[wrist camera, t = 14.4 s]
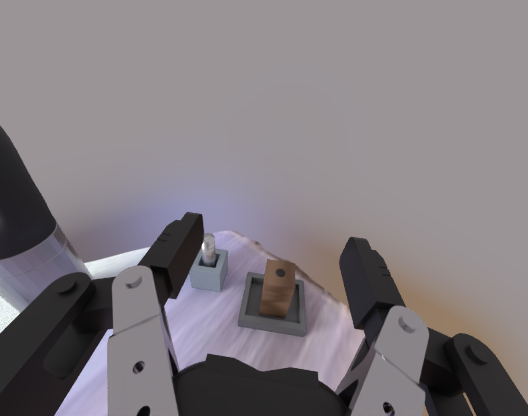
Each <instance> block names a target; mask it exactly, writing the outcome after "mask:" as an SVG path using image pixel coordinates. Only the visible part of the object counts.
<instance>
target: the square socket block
mask: <svg viewBox="0 0 528 416" xmlns="http://www.w3.org/2000/svg"><path fill="white" fill-rule="evenodd" d="M215 255H216V267H215V268H211V267H205V266H203V261H202V252H201V249H200V251H199V253H198V255H197V257H196V259H195V261H194V263H193V265H192V267H191V269H190V272H189V274H190V279H191V285H192V288H198V289H205V290H211V291H217V292H221V288H222V285H223V282H224V279H225V275H226V272H227V269H228V251H226V250H220V249H215Z"/></svg>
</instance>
